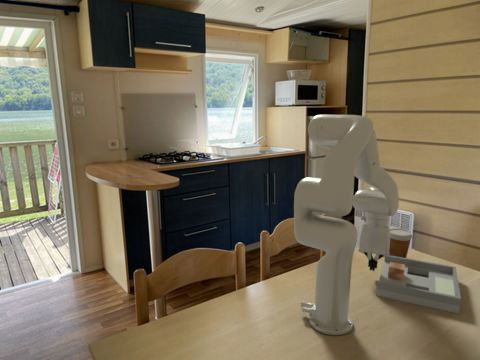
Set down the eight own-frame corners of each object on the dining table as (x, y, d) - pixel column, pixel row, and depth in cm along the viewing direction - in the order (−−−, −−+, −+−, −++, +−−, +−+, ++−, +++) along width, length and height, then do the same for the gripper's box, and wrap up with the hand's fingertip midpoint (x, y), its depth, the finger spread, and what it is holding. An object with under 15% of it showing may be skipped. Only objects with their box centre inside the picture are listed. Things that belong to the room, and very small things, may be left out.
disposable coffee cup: (413, 264, 147) (416, 236, 145) (389, 264, 147) (392, 235, 145) (403, 254, 156) (406, 228, 154) (381, 254, 156) (383, 227, 154)
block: (387, 277, 130) (388, 267, 130) (389, 272, 135) (390, 261, 134) (403, 280, 128) (404, 270, 127) (404, 274, 133) (405, 264, 132)
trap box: (376, 295, 123) (377, 281, 122) (384, 266, 145) (385, 254, 144) (459, 313, 113) (461, 298, 112) (454, 279, 135) (455, 266, 134)
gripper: (352, 221, 131) (349, 269, 135) (398, 227, 125) (393, 277, 128) (356, 215, 138) (353, 261, 141) (399, 221, 131) (395, 269, 135)
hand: (372, 269), depth 135 cm, fingers closed
